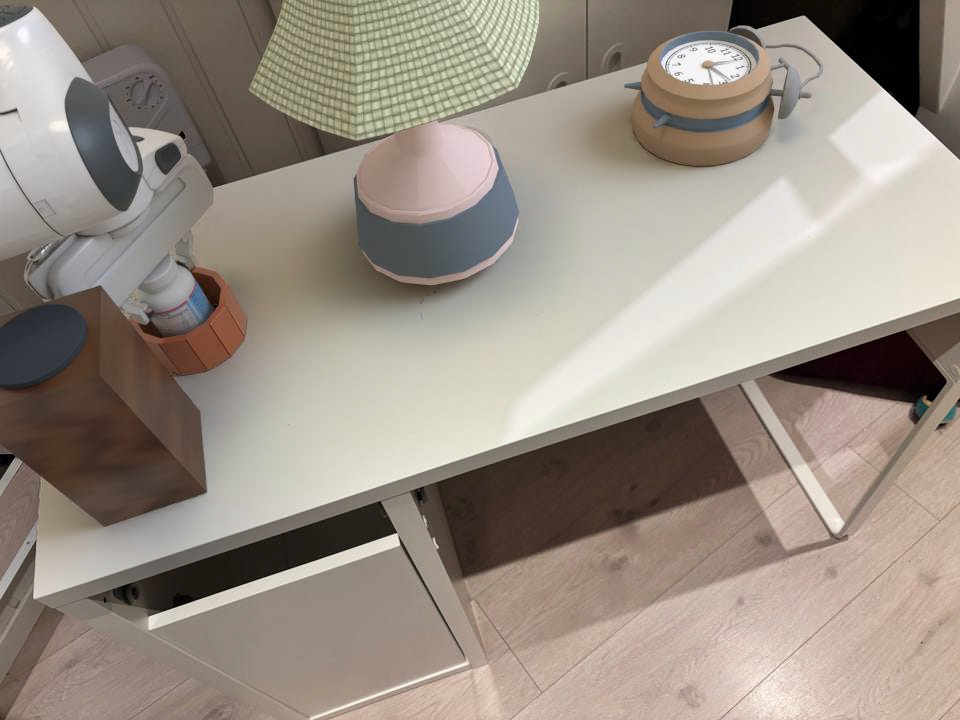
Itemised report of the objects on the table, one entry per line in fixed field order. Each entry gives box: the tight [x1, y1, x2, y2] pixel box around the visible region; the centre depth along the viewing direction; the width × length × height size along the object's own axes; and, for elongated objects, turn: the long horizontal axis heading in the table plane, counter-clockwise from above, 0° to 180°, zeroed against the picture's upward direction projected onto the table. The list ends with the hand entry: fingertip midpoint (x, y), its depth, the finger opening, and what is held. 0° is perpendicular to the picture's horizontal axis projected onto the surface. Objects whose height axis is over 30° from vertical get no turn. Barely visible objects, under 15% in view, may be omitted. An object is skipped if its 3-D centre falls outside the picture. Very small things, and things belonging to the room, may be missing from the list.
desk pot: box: [128, 266, 248, 376], centre depth 81 cm, size 11×11×6 cm
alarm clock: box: [623, 25, 824, 167], centre depth 91 cm, size 17×9×23 cm
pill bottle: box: [134, 252, 215, 338], centre depth 79 cm, size 6×6×11 cm
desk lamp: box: [248, 0, 540, 286], centre depth 72 cm, size 26×28×42 cm
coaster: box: [0, 304, 87, 389], centre depth 58 cm, size 8×8×1 cm
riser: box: [0, 285, 208, 527], centre depth 66 cm, size 10×10×19 cm
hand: (168, 292), depth 77 cm, fingers closed on pill bottle, 6 cm apart
